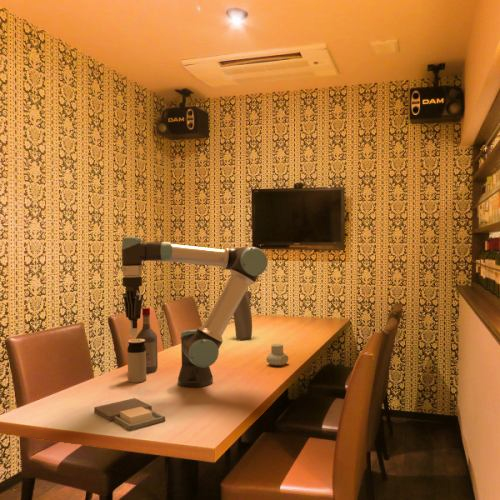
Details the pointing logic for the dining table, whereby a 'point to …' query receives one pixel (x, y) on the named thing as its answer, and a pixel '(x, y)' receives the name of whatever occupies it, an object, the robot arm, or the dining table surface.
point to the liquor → (149, 342)
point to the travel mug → (136, 360)
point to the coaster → (136, 415)
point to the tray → (155, 419)
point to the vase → (243, 318)
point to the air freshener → (277, 355)
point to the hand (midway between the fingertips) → (133, 336)
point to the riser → (119, 408)
